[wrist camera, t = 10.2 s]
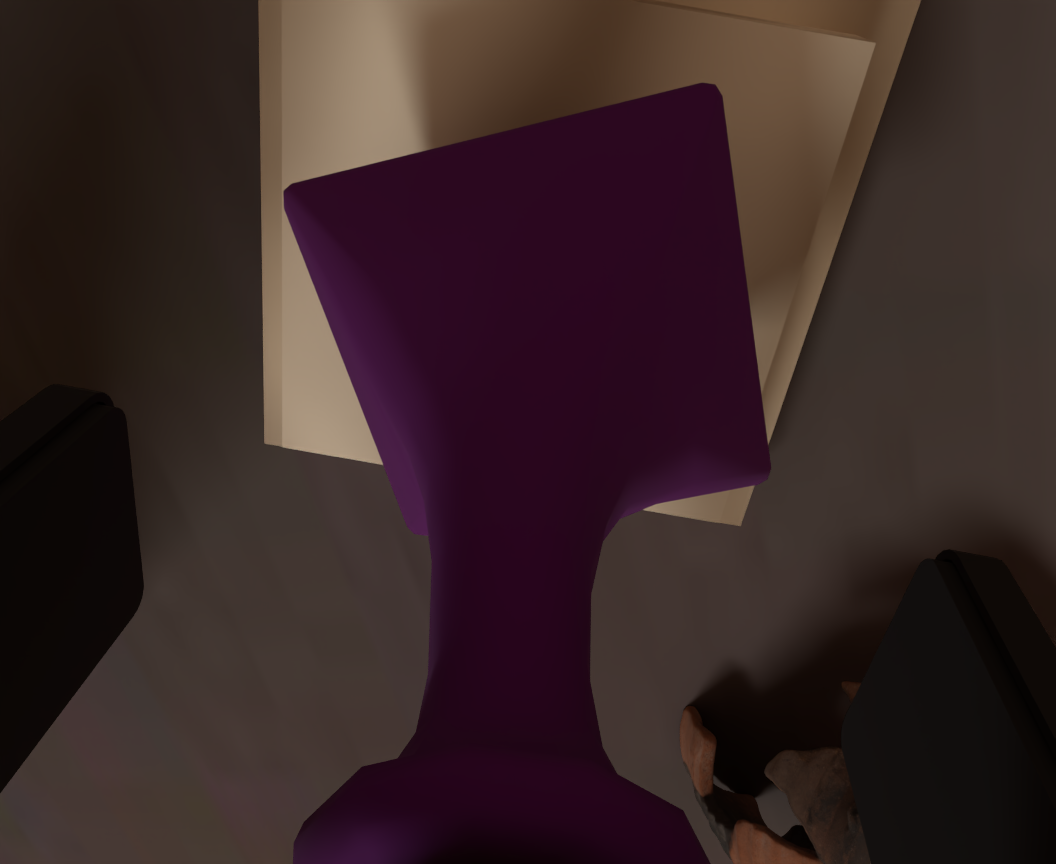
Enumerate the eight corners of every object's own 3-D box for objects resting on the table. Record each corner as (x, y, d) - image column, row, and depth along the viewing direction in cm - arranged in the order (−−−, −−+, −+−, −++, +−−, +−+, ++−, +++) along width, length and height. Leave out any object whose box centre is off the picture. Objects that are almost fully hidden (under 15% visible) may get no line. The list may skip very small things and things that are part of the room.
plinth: (896, -18, 18) (952, -9, 15) (731, 484, 25) (748, 561, 22) (291, -122, 18) (225, -134, 15) (289, 408, 25) (243, 473, 22)
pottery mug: (648, 634, 29) (806, 773, 21) (876, 566, 31) (1087, 667, 24) (674, 927, 32) (820, 1142, 24) (880, 841, 34) (1069, 1008, 27)
